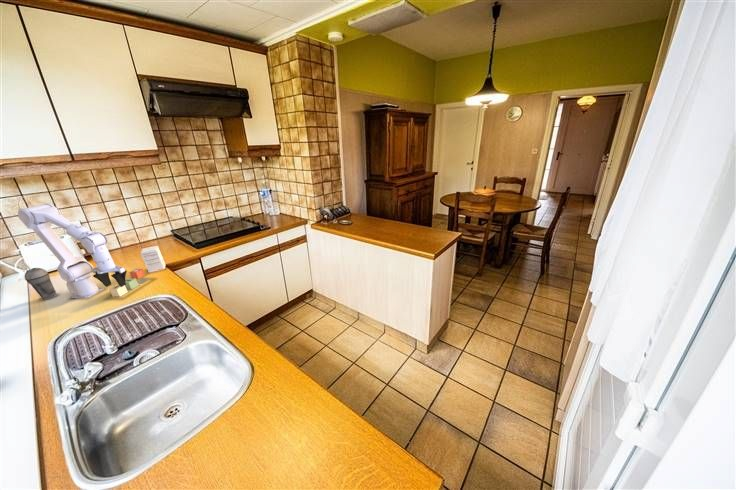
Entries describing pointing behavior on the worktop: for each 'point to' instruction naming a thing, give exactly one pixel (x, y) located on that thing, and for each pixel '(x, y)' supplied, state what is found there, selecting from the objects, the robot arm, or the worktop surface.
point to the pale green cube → (131, 283)
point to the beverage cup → (40, 282)
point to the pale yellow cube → (118, 291)
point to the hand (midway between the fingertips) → (116, 285)
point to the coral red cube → (137, 273)
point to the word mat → (138, 283)
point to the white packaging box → (153, 259)
